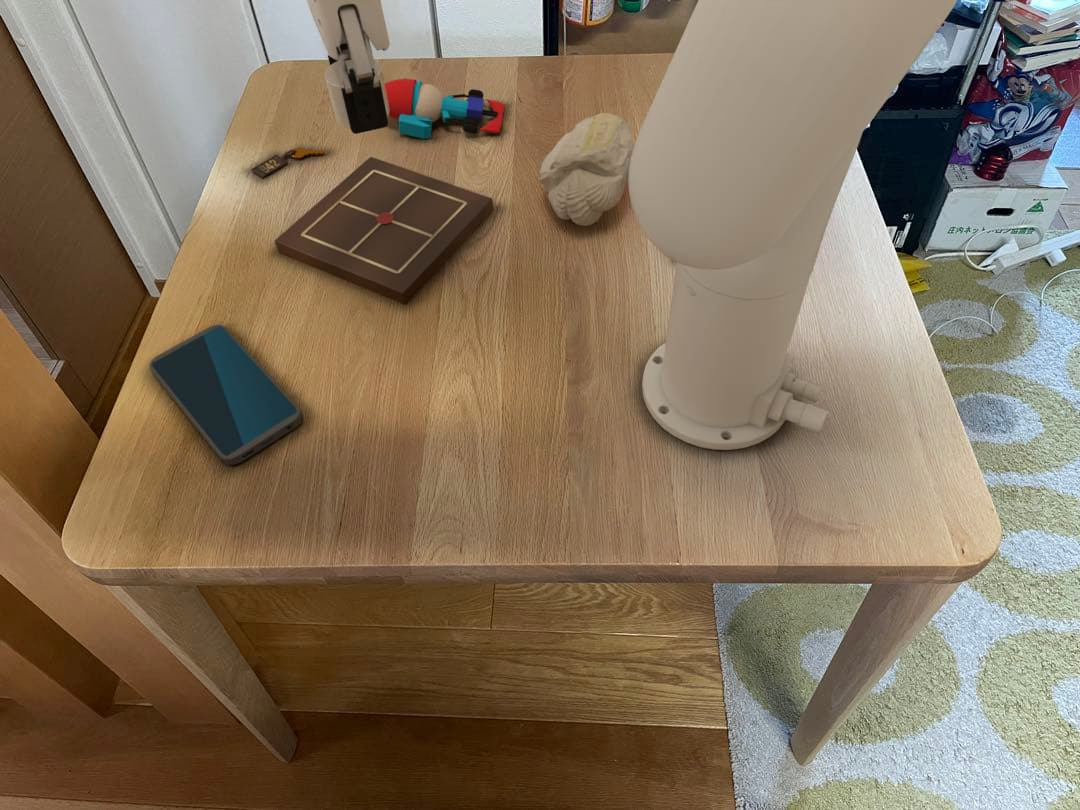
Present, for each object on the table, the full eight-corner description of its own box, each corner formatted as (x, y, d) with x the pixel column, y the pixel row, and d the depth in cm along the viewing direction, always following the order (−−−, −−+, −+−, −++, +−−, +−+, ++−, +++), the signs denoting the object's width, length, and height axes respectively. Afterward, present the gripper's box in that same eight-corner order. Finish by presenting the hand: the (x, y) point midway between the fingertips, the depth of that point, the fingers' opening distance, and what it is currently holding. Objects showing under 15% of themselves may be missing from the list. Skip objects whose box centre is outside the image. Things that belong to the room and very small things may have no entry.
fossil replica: (546, 243, 84) (641, 237, 85) (552, 178, 77) (656, 173, 78) (529, 164, 90) (618, 160, 92) (533, 98, 83) (629, 95, 85)
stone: (400, 107, 73) (392, 64, 70) (367, 135, 70) (358, 92, 67) (357, 93, 74) (347, 51, 71) (323, 120, 72) (312, 78, 69)
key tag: (258, 179, 91) (256, 175, 91) (248, 166, 93) (246, 162, 92) (325, 153, 94) (324, 148, 93) (314, 141, 96) (313, 136, 95)
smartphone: (228, 470, 67) (225, 464, 66) (148, 368, 74) (143, 361, 73) (308, 420, 70) (305, 413, 69) (223, 326, 77) (220, 319, 76)
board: (493, 209, 87) (492, 197, 86) (405, 304, 78) (402, 292, 77) (373, 167, 92) (370, 155, 91) (278, 252, 84) (273, 239, 83)
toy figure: (503, 113, 101) (380, 95, 99) (507, 78, 97) (379, 58, 95) (498, 154, 97) (370, 135, 95) (502, 119, 92) (368, 99, 91)
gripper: (393, -84, 53) (430, 155, 68) (339, -168, 63) (381, 56, 78) (277, -64, 52) (340, 176, 66) (241, -153, 62) (303, 73, 76)
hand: (362, 109), depth 72 cm, fingers closed on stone, 4 cm apart
